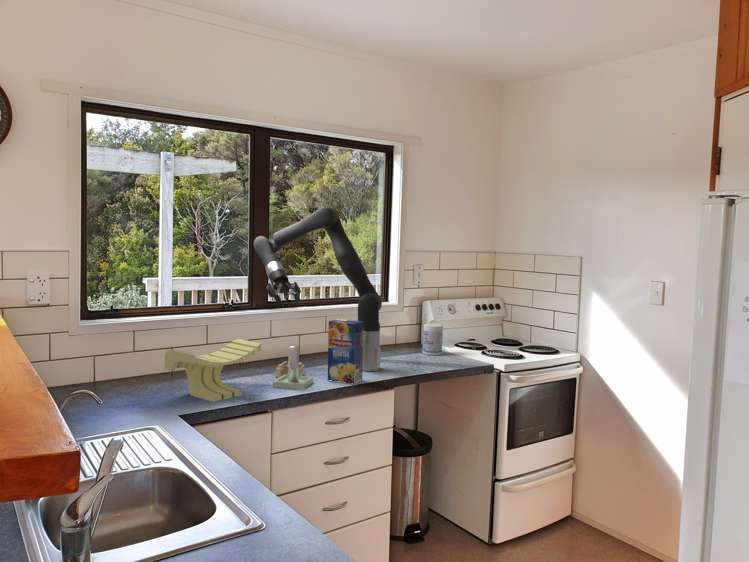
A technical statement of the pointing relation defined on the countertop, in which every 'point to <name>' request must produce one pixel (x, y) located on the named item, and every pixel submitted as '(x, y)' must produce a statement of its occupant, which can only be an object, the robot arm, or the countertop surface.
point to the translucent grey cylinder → (293, 364)
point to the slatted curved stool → (211, 368)
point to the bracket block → (283, 369)
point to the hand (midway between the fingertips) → (289, 303)
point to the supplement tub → (432, 339)
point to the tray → (284, 383)
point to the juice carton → (345, 350)
